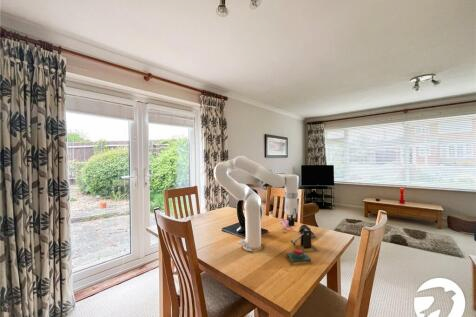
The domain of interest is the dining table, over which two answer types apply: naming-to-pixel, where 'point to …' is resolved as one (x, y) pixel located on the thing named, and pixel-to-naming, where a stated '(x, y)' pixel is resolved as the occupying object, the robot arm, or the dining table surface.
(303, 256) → the button box
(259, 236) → the robot arm
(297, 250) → the button
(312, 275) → the dining table surface
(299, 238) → the lever
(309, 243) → the bracket
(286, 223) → the lily
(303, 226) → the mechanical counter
